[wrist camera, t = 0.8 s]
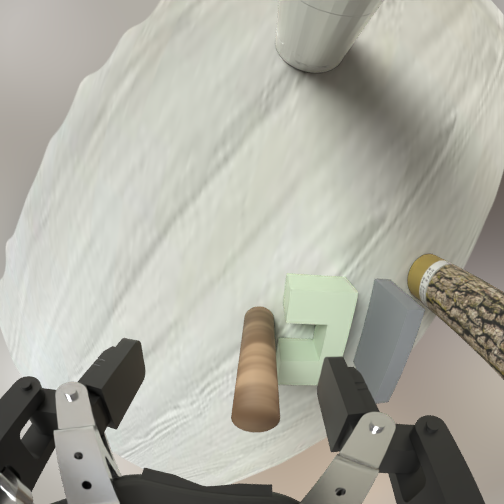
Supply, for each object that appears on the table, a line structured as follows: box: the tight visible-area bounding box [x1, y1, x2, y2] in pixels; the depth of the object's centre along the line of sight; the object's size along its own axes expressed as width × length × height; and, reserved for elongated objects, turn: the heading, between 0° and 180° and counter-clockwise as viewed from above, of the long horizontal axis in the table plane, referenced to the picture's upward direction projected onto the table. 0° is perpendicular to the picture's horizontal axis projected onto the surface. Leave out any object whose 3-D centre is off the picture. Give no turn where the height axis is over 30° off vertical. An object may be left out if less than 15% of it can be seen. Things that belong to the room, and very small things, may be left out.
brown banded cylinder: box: [231, 307, 280, 432], centre depth 28 cm, size 4×4×18 cm
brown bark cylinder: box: [408, 254, 504, 380], centre depth 22 cm, size 7×7×25 cm
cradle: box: [276, 273, 358, 385], centre depth 34 cm, size 14×8×6 cm, turn 176°
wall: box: [353, 279, 425, 404], centre depth 31 cm, size 14×2×10 cm, turn 176°
